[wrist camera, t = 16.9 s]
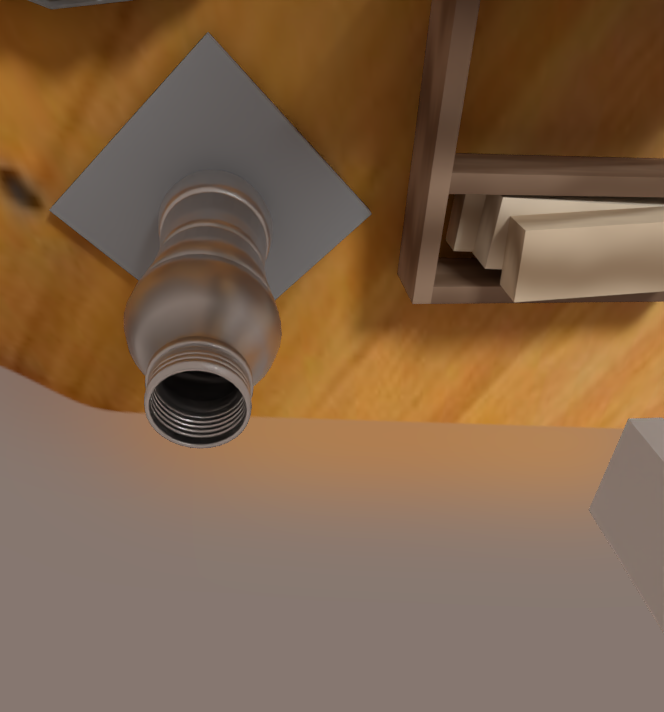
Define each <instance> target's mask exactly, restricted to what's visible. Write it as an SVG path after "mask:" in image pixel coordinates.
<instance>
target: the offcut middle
mask: <svg viewBox="0 0 664 712" xmlns="http://www.w3.org/2000/svg"><path fill="white" fill-rule="evenodd" d="M662 206H664V197H607V196H545V195H486V199H485V203H484V207H483V211H482V215H481V220H480V224H479V228H478V232H477V236H476V241H475V245H474V249H473V254H474V255H475V257H476V258H477V259H478V260H479V262H480V263H481V264H482V266H483V267H484V268H485V269H502V267H503V260H504V254H505V247H506V240H507V234H508V227H509V220H510V216H518V215H533V214H549V213H565V212H581V211H597V210H613V209H629V208H645V207H662Z"/></svg>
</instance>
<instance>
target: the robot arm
mask: <svg viewBox="0 0 664 712" xmlns="http://www.w3.org/2000/svg"><path fill="white" fill-rule="evenodd" d="M589 511H590V513H591V515H592V516H593V518H594V520H595V521H596V523H597V524H598V526H599V528H600V530H601V531H602V533H603V534H604V536H605V538H606V539H607V541H608V543H609V544H610V546H611V548H612V549H613V551H614V553H615V554H616V556H617V557H618V559H619V561H620V562H621V564H622V566H623V567H624V569H625V571H626V572H627V574H628V576H629V577H630V579H631V580H632V582H633V584H634V585H635V587H636V589H637V590H638V592H639V594H640V595H641V597H642V598H643V600H644V602H645V603H646V605H647V607H648V608H649V610H650V612H651V613H652V615H653V617H654V618H655V620H656V621H657V623H658V625H659V626H660V628H661V630H662V631H663V633H664V419H663V418H635V419H628V421H627V423H626V425H625V428H624V430H623V432H622V435H621V437H620V439H619V442H618V444H617V446H616V449H615V451H614V453H613V455H612V458H611V460H610V462H609V465H608V467H607V469H606V472H605V474H604V476H603V479H602V481H601V483H600V486H599V488H598V490H597V492H596V495H595V497H594V499H593V502H592V504H591V506H590V508H589Z"/></svg>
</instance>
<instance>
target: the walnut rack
mask: <svg viewBox="0 0 664 712" xmlns="http://www.w3.org/2000/svg"><path fill="white" fill-rule="evenodd" d="M479 5H480V0H432V4H431V12H430V20H429V28H428V36H427V44H426V51H425V59H424V67H423V75H422V83H421V91H420V99H419V107H418V115H417V123H416V131H415V139H414V147H413V154H412V162H411V170H410V178H409V186H408V194H407V202H406V210H405V218H404V226H403V234H402V242H401V250H400V257H399V265H398V273H397V274H398V276H399V278H400V280H401V282H402V284H403V286H404V288H405V290H406V292H407V294H408V296H409V298H410V300H411V302H412V304H455V303H557V302H660V301H664V291H662V292H648V293H635V294H621V295H607V296H594V297H580V298H567V299H553V300H540V301H526V302H513V300H512V299H511V298H510V297H509V295H508V294H507V293H506V292H505V290H504V289H503V288H502V287H501V285H500V280H501V273H502V269H485V268H484V267H483V266H482V264H481V263H480V262H479V260H478V259H477V258H438V256H439V249H440V243H441V237H442V231H443V225H444V219H445V213H446V207H447V201H448V195H449V194H483V195H545V196H607V197H664V159H659V158H620V157H581V156H542V155H504V154H465V153H455V152H456V146H457V140H458V134H459V127H460V121H461V115H462V109H463V103H464V97H465V91H466V85H467V79H468V73H469V66H470V60H471V54H472V48H473V42H474V36H475V30H476V24H477V18H478V12H479Z"/></svg>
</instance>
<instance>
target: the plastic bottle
mask: <svg viewBox="0 0 664 712" xmlns="http://www.w3.org/2000/svg"><path fill="white" fill-rule="evenodd" d="M158 233H159V238H160V249H159V251H158V254H157V256H156V258H155V260H154V262H153V263H152V265H151V266H150V267H149V269H148V270H147V271H146V272H145V274H144V275H143V276H142V278H141V279H140V280H139V281H138V283H137V285H136V287H135V288H134V290H133V292H132V294H131V296H130V298H129V300H128V302H127V305H126V309H125V313H124V331H125V335H126V339H127V344H128V348H129V352H130V354H131V356H132V358H133V360H134V362H135V364H136V365H137V366H138V368H139V369H140V370H141V372H142V373H143V374H144V375H145V387H146V392H145V397H144V406H145V412H146V416H147V419H148V420H149V422H150V424H151V426H152V427H153V428H154V429H155V430H156V431H157V432H158V433H159V434H160V435H161V436H162V437H164V438H166V439H167V440H169V441H171V442H173V443H176V444H178V445H182V446H186V447H190V448H211V447H216V446H220V445H222V444H225V443H228V442H229V441H231V440H233V439H234V438H236V437H237V436H238V435H239V434H240V433H241V432H242V431H243V430H244V429H245V427H246V426H247V424H248V421H249V418H250V415H251V408H252V405H251V398H252V394H253V386H254V385H256V384H257V383H258V382H259V381H260V380H261V379H262V378H263V377H264V376H265V374H266V373H267V372H268V370H269V369H270V367H271V365H272V363H273V361H274V359H275V357H276V355H277V352H278V350H279V347H280V342H281V335H282V332H281V321H280V317H279V312H278V309H277V306H276V303H275V300H274V298H273V295H272V292H271V290H270V287H269V285H268V283H267V279H266V273H265V268H264V266H265V260H266V258H267V256H268V253H269V250H270V246H271V242H272V235H273V226H272V219H271V216H270V212H269V210H268V208H267V206H266V204H265V202H264V201H263V199H262V198H261V196H260V195H259V194H258V192H257V191H256V190H255V188H254V187H252V186H251V185H250V184H249V183H248V182H247V181H245V180H244V179H242V178H240V177H239V176H237V175H234V174H232V173H229V172H226V171H220V170H203V171H199V172H195V173H193V174H190V175H188V176H186V177H185V178H183V179H182V180H181V181H179V182H178V183H177V184H175V185H174V186H173V187H172V188H171V189H170V190H169V192H168V193H167V194H166V196H165V197H164V199H163V201H162V203H161V207H160V210H159V218H158Z"/></svg>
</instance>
